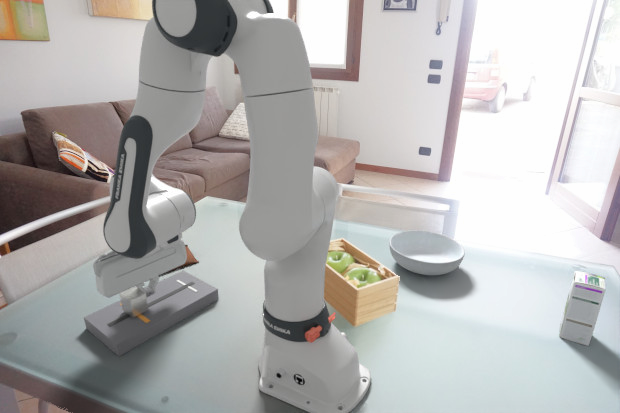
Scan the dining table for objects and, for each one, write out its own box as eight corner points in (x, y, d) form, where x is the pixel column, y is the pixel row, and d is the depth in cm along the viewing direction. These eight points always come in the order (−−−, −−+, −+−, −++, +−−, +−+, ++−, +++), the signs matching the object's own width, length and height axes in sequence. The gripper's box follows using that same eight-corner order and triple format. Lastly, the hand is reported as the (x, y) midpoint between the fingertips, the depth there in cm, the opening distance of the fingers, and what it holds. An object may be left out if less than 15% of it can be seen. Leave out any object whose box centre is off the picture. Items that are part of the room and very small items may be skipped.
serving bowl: (461, 291, 107) (465, 268, 105) (382, 276, 114) (384, 254, 111) (461, 255, 126) (464, 235, 123) (392, 244, 132) (394, 225, 129)
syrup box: (589, 347, 88) (608, 289, 83) (557, 337, 91) (574, 280, 85) (589, 332, 92) (607, 277, 87) (559, 323, 95) (574, 269, 90)
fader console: (218, 299, 102) (217, 288, 101) (119, 356, 83) (116, 344, 82) (184, 280, 110) (183, 270, 109) (86, 328, 91) (83, 316, 90)
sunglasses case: (140, 283, 108) (132, 259, 109) (133, 286, 114) (125, 263, 114) (201, 261, 120) (194, 240, 120) (192, 265, 125) (185, 244, 125)
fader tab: (148, 310, 92) (145, 293, 90) (133, 317, 89) (130, 300, 88) (137, 302, 95) (134, 286, 93) (122, 310, 92) (119, 293, 90)
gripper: (99, 263, 79) (111, 322, 84) (187, 229, 94) (193, 281, 99) (84, 253, 83) (96, 310, 88) (171, 222, 98) (177, 272, 103)
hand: (148, 295), depth 94 cm, fingers closed
